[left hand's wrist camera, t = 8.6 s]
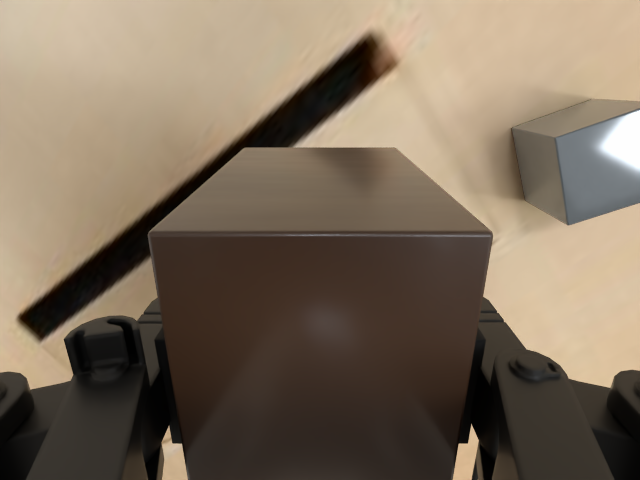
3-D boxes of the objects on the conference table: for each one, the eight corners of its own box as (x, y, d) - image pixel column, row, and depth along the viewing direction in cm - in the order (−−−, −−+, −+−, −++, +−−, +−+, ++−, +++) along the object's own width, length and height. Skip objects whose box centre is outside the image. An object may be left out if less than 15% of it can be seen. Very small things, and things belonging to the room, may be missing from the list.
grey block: (510, 127, 25) (554, 137, 20) (593, 98, 24) (658, 101, 20) (524, 201, 27) (567, 226, 22) (602, 175, 26) (664, 195, 21)
